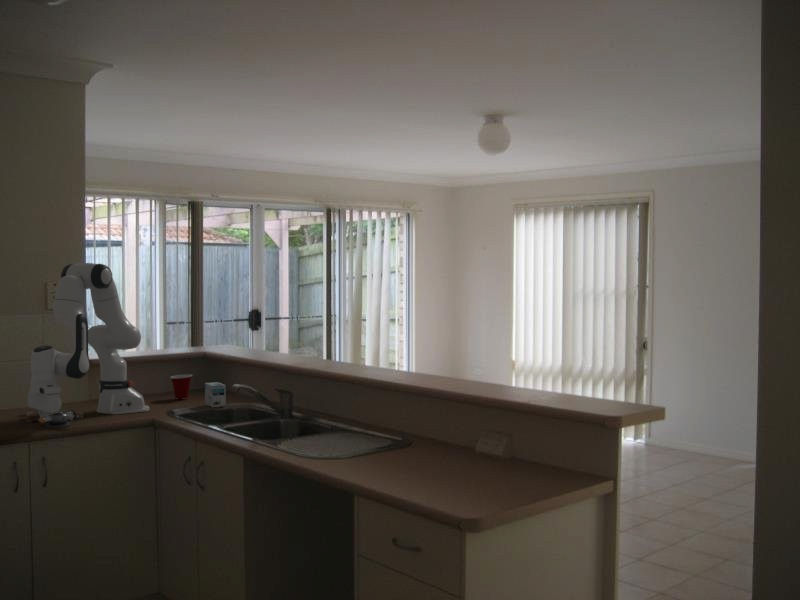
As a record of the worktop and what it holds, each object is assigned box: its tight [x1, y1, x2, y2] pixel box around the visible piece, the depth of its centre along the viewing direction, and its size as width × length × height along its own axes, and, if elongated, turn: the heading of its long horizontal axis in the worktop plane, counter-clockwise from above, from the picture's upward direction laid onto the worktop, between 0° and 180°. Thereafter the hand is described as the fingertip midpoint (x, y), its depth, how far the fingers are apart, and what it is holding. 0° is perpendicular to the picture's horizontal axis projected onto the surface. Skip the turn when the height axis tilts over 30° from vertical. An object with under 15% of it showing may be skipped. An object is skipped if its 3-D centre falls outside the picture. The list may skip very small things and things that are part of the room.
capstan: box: [37, 409, 80, 425], centre depth 308 cm, size 20×20×5 cm
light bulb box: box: [204, 381, 227, 406], centre depth 359 cm, size 11×7×11 cm, turn 34°
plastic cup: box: [169, 373, 193, 399], centre depth 377 cm, size 11×11×12 cm
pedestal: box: [45, 421, 71, 429], centre depth 308 cm, size 9×9×1 cm
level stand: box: [25, 408, 85, 423], centre depth 324 cm, size 22×10×4 cm, turn 114°
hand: (43, 421), depth 303 cm, fingers closed
